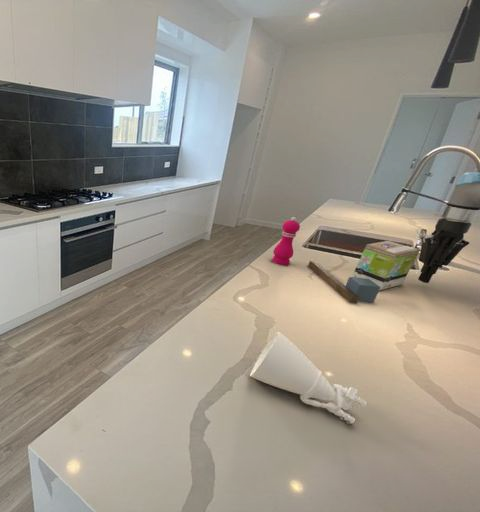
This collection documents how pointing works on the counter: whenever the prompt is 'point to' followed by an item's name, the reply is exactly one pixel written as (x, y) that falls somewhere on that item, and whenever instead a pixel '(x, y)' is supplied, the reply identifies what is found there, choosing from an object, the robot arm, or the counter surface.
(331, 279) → the brown wooden stick
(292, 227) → the pepper mill
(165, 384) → the counter surface
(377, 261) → the tea box
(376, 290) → the blue block
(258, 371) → the rocket engine
